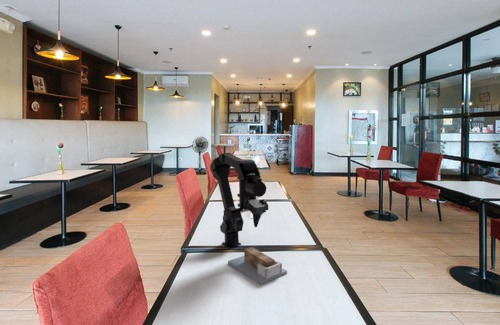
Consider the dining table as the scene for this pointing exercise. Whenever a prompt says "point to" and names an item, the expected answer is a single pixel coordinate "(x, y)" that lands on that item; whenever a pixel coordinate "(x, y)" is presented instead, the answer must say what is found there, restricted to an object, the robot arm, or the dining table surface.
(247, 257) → the brown wooden block
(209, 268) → the dining table surface
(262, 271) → the bracket
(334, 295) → the dining table surface
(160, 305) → the dining table surface
